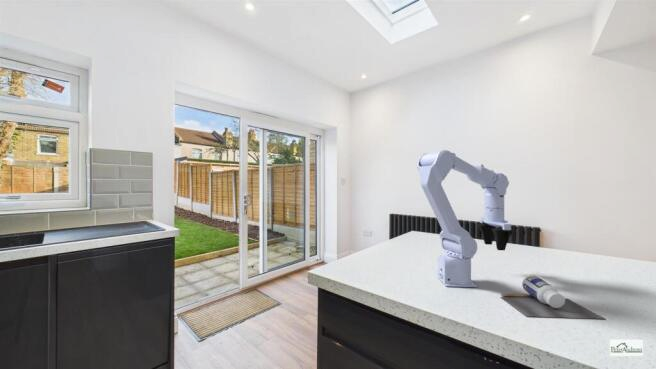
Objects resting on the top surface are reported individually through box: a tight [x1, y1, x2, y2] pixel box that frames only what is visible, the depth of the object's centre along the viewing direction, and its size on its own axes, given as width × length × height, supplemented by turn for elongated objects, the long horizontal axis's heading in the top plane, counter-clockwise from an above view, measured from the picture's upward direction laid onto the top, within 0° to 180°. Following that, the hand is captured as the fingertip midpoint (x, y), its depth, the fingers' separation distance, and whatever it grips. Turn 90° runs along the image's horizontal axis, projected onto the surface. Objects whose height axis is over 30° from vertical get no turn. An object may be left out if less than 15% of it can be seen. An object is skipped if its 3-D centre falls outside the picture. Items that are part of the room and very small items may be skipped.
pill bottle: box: [521, 274, 566, 308], centre depth 68 cm, size 5×5×9 cm
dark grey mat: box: [500, 293, 606, 320], centre depth 66 cm, size 18×11×1 cm, turn 86°
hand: (494, 247), depth 86 cm, fingers open, 7 cm apart
